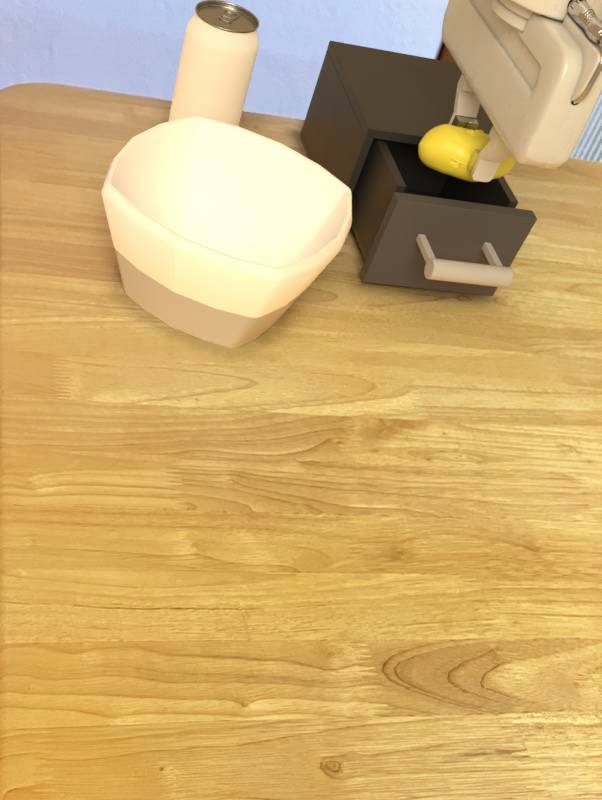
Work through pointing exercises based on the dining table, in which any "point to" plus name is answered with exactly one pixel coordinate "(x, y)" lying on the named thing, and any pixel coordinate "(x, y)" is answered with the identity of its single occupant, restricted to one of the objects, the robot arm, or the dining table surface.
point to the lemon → (456, 151)
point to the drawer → (434, 225)
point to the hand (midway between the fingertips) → (466, 156)
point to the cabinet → (376, 105)
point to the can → (216, 62)
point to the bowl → (220, 226)
